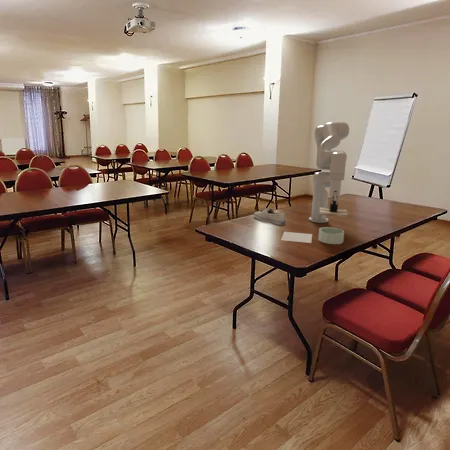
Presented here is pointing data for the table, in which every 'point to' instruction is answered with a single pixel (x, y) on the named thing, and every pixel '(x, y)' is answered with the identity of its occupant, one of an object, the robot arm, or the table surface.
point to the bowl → (331, 235)
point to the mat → (297, 237)
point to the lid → (327, 212)
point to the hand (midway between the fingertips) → (333, 210)
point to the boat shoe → (270, 216)
